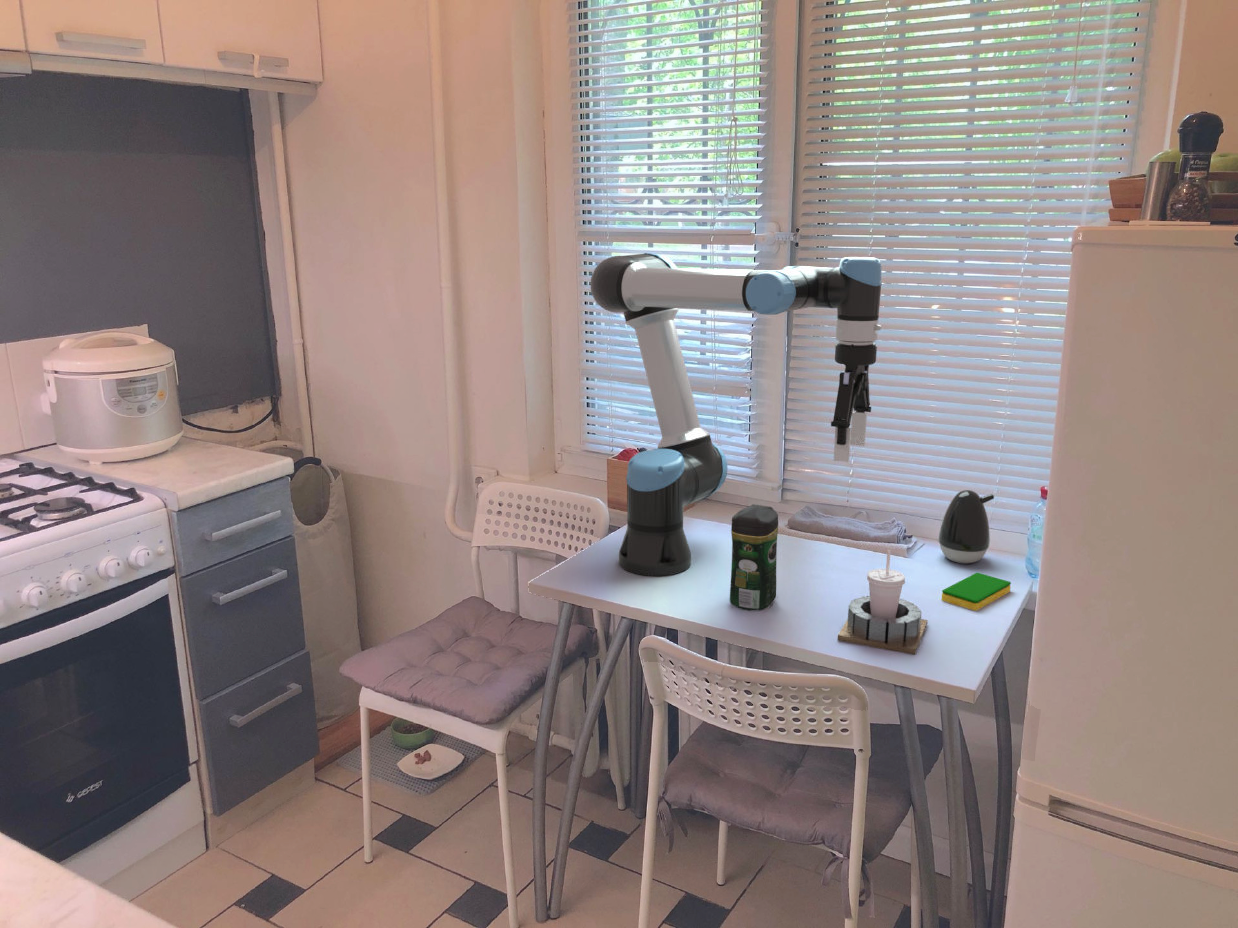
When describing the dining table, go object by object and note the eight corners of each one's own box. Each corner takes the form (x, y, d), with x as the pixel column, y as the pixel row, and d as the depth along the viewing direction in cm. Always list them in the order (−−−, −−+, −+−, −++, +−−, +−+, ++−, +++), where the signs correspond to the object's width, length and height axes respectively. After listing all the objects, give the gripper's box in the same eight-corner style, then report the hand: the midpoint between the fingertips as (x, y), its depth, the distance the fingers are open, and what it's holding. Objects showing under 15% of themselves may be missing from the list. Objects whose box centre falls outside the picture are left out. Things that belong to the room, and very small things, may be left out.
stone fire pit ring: (837, 640, 167) (838, 616, 165) (854, 612, 178) (855, 589, 177) (914, 654, 161) (917, 630, 160) (927, 625, 172) (929, 601, 171)
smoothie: (906, 624, 170) (912, 549, 167) (894, 637, 165) (900, 560, 162) (870, 616, 174) (876, 542, 170) (858, 628, 169) (863, 553, 165)
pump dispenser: (995, 568, 199) (1003, 497, 195) (944, 567, 200) (951, 497, 196) (979, 551, 209) (986, 483, 205) (931, 550, 209) (936, 483, 206)
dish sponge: (1010, 593, 188) (1011, 581, 187) (975, 613, 179) (976, 600, 178) (976, 583, 193) (977, 571, 192) (940, 601, 184) (941, 590, 183)
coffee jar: (741, 589, 189) (744, 499, 184) (780, 597, 185) (784, 504, 180) (723, 607, 180) (725, 513, 176) (763, 615, 177) (767, 519, 172)
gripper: (862, 352, 167) (854, 470, 173) (889, 335, 189) (882, 440, 194) (819, 349, 170) (813, 465, 176) (851, 333, 192) (845, 436, 197)
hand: (849, 452), depth 185 cm, fingers open, 13 cm apart
